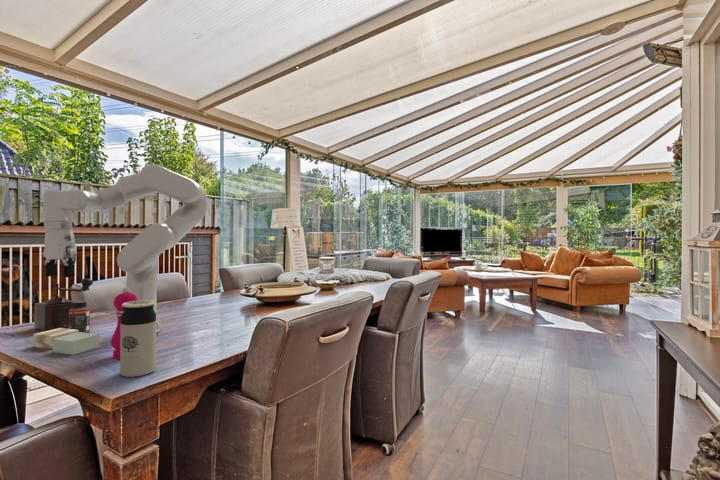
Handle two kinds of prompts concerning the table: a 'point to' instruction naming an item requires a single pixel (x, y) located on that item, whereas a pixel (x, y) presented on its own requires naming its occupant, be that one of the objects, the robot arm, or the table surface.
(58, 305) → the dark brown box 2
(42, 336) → the maple block
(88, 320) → the supplement bottle
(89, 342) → the green block
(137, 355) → the travel mug
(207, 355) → the table surface
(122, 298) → the pepper mill
